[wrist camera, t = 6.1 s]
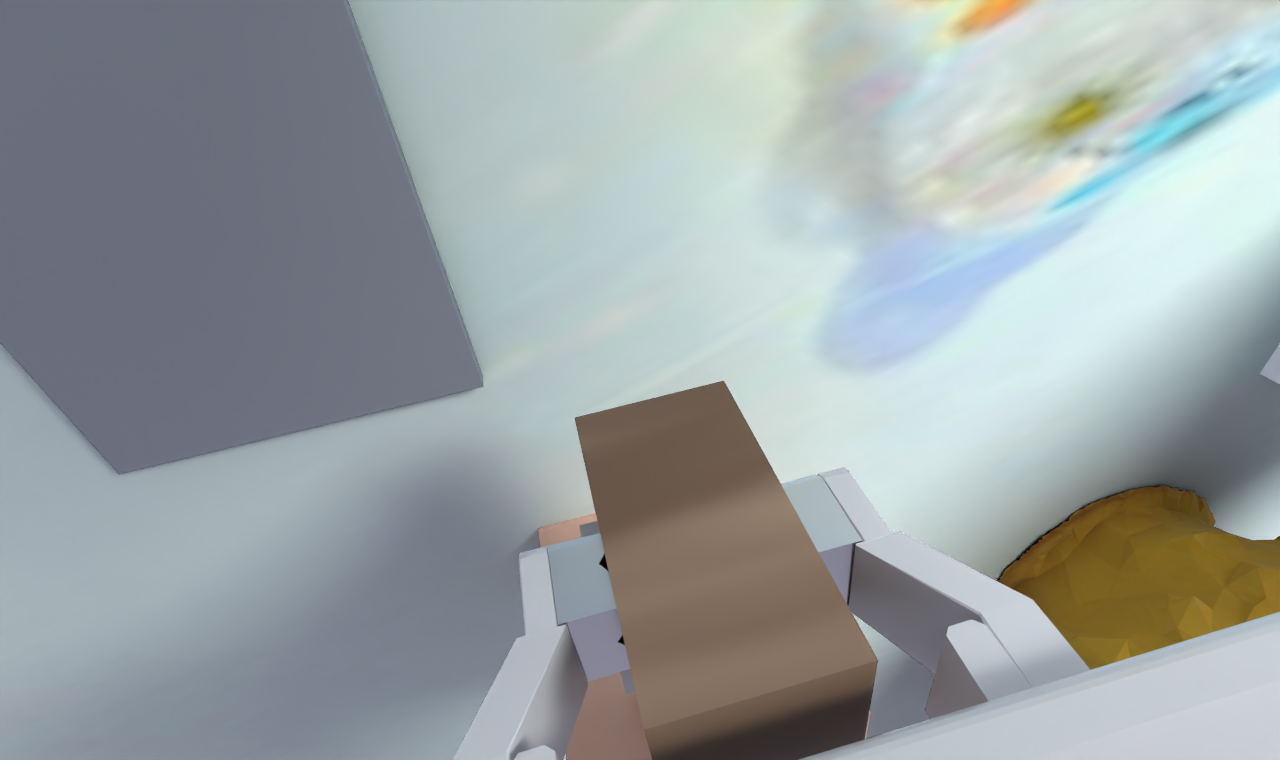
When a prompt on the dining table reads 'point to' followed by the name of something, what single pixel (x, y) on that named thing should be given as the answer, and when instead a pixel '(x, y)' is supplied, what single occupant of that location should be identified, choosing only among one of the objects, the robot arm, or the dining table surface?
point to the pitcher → (1145, 575)
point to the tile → (603, 694)
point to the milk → (1273, 367)
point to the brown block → (719, 587)
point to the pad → (211, 226)
